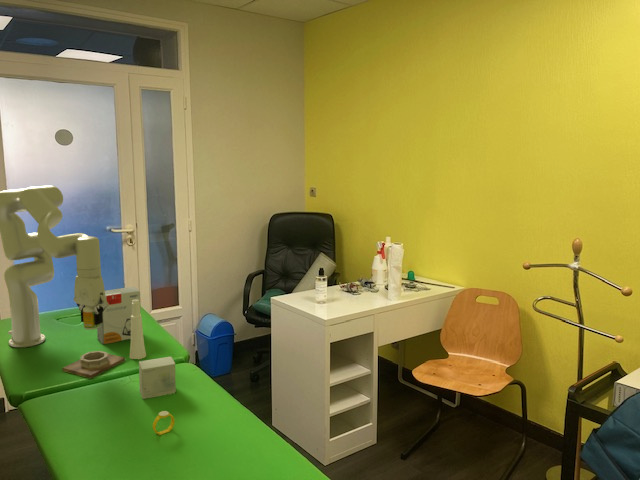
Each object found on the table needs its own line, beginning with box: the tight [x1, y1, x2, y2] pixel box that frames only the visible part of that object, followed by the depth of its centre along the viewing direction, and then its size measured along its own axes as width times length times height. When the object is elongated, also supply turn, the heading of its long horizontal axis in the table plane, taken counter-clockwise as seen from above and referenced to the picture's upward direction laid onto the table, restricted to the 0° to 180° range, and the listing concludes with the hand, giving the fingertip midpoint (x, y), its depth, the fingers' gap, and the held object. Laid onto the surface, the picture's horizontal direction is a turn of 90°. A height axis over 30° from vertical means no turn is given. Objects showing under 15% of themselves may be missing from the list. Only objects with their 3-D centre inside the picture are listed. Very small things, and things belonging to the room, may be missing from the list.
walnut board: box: [62, 350, 126, 379], centre depth 188 cm, size 13×16×4 cm
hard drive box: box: [96, 286, 142, 345], centre depth 212 cm, size 16×8×20 cm, turn 129°
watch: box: [152, 410, 176, 436], centre depth 147 cm, size 6×3×6 cm, turn 133°
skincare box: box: [138, 356, 177, 400], centre depth 169 cm, size 10×6×10 cm, turn 117°
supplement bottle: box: [83, 306, 100, 330], centre depth 184 cm, size 5×5×10 cm
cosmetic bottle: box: [129, 299, 147, 360], centre depth 195 cm, size 6×6×22 cm
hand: (92, 321), depth 185 cm, fingers closed on supplement bottle, 5 cm apart
